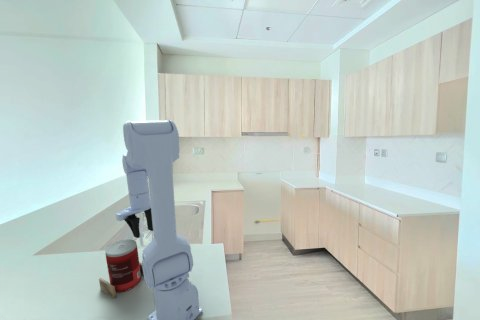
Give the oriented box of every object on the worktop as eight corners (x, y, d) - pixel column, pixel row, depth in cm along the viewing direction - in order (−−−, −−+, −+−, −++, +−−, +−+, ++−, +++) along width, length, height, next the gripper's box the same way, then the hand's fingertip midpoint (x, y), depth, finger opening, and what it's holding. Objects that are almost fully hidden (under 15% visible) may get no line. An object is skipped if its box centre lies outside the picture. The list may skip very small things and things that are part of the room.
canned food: (133, 270, 68) (128, 236, 66) (146, 280, 63) (142, 244, 61) (106, 284, 62) (100, 248, 60) (118, 297, 57) (112, 258, 55)
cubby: (148, 275, 65) (147, 266, 65) (114, 298, 57) (112, 288, 56) (134, 268, 69) (133, 259, 68) (100, 288, 61) (98, 278, 60)
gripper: (151, 184, 77) (155, 221, 79) (108, 197, 65) (114, 240, 67) (164, 187, 73) (168, 226, 75) (121, 201, 61) (127, 246, 63)
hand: (144, 233), depth 71 cm, fingers open, 4 cm apart
